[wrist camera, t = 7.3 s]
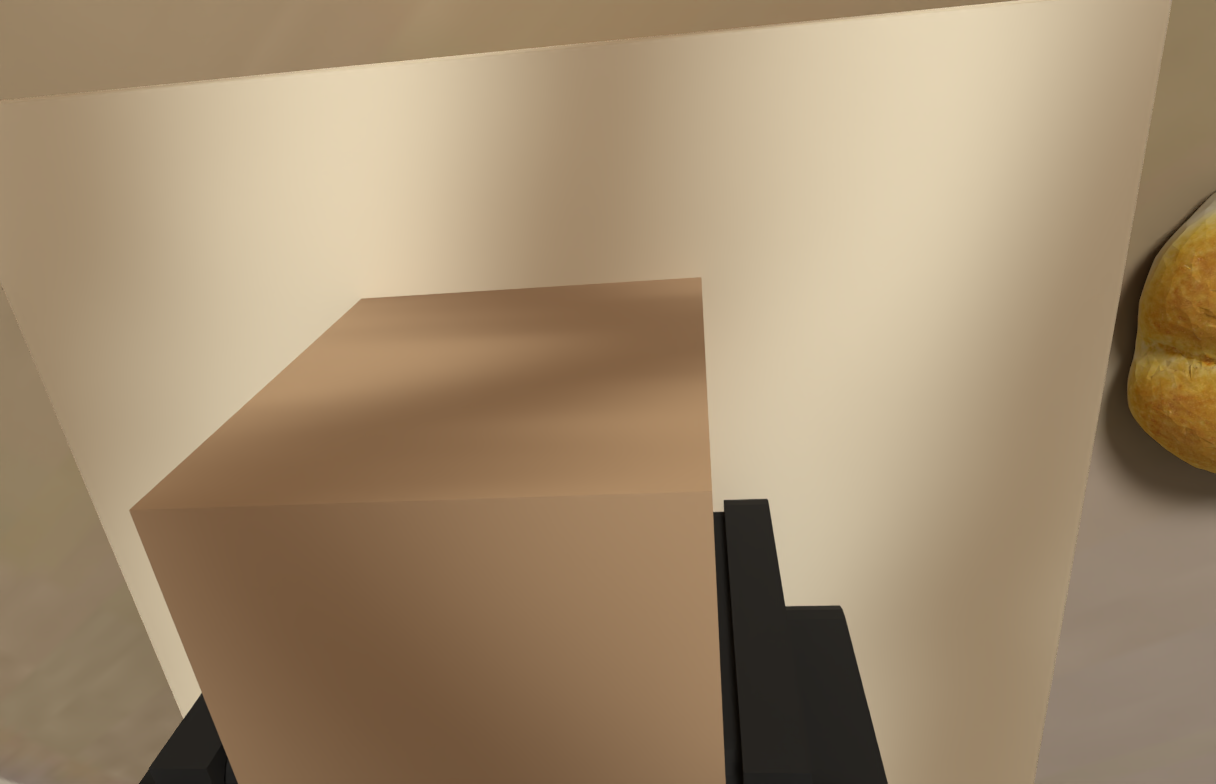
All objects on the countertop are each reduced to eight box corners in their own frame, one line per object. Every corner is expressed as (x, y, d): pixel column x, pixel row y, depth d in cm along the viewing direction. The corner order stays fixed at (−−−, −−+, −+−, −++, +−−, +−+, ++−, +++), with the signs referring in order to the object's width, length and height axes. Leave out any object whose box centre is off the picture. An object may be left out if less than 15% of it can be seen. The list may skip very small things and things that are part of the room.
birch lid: (1123, -10, 9) (1716, -26, 4) (993, 834, 14) (1160, 1289, 9) (-4, 101, 10) (-670, 194, 5) (273, 823, 16) (81, 1206, 11)
